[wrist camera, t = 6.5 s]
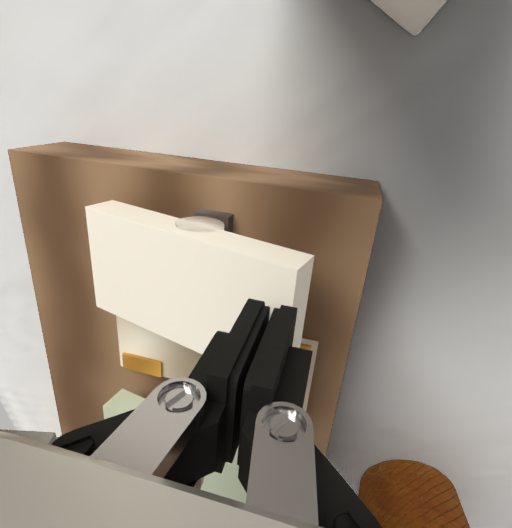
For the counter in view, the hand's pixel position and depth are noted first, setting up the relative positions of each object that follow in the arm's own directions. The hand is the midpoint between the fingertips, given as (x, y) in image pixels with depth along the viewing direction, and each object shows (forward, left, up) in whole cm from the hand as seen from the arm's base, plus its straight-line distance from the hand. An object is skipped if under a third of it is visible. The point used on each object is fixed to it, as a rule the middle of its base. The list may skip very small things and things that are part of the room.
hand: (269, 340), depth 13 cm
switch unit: (+6, +6, -9) cm, 12 cm away
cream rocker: (+4, 0, -3) cm, 5 cm away
